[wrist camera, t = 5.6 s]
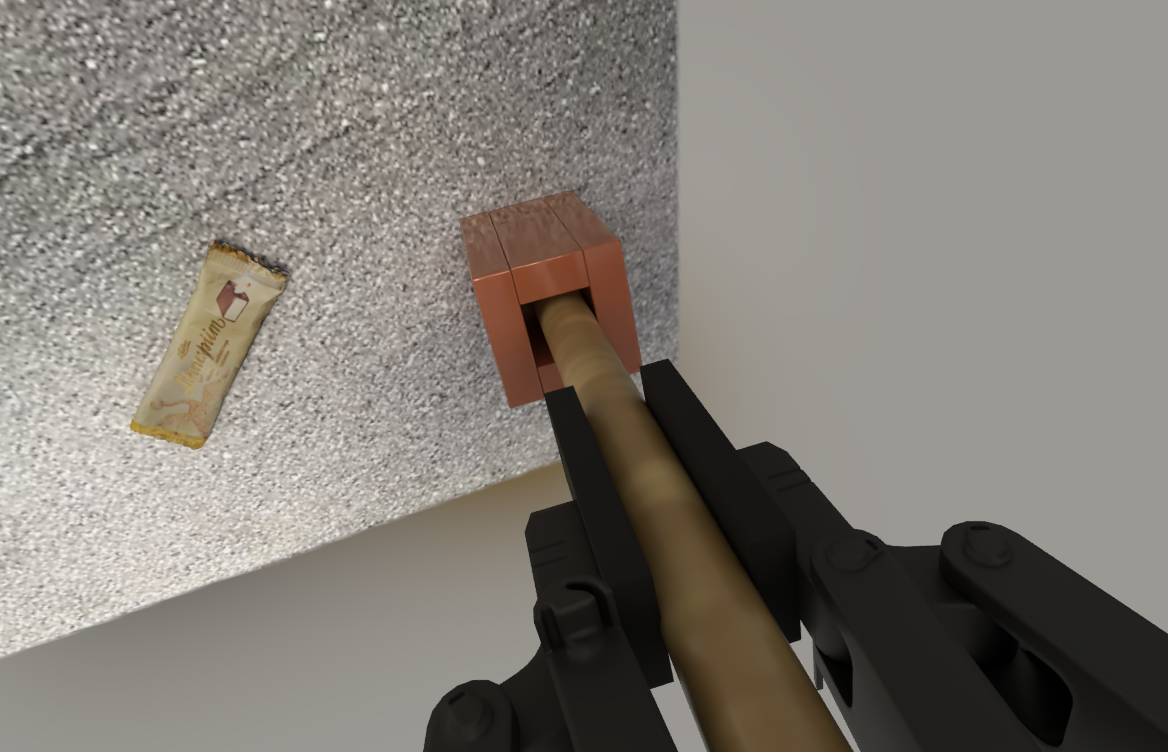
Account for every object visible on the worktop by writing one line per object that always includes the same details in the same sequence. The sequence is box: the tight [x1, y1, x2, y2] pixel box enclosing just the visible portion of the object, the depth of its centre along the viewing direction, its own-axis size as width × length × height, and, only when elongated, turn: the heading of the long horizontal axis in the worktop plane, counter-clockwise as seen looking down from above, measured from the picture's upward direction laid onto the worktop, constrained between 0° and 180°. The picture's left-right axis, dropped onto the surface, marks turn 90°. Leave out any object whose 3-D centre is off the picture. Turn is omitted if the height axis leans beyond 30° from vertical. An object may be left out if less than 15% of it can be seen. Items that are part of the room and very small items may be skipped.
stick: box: [532, 289, 854, 752], centre depth 18 cm, size 2×2×21 cm
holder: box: [460, 191, 643, 408], centre depth 26 cm, size 5×5×8 cm
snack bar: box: [130, 240, 290, 450], centre depth 27 cm, size 10×2×3 cm
